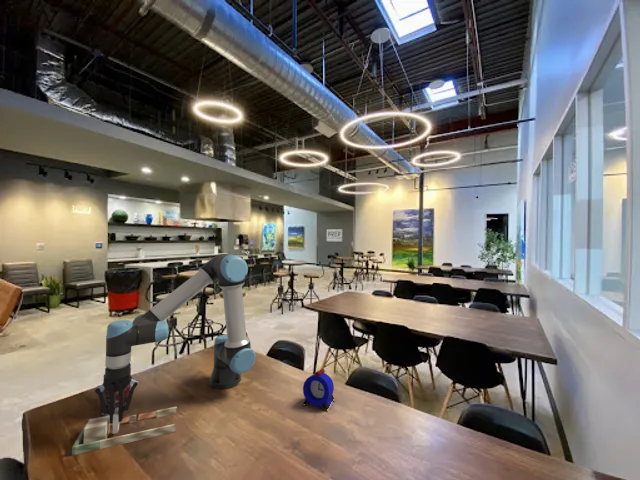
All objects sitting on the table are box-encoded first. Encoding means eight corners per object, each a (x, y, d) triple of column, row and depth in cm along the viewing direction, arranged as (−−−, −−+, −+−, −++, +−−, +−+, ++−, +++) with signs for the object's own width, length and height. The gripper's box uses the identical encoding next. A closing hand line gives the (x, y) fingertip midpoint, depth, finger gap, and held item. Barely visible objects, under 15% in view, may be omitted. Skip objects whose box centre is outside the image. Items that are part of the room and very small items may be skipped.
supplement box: (110, 417, 112) (111, 376, 112) (101, 414, 113) (102, 374, 114) (130, 405, 120) (131, 367, 121) (121, 403, 122) (123, 366, 122)
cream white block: (109, 432, 104) (110, 415, 104) (105, 442, 98) (105, 425, 98) (88, 436, 101) (89, 419, 101) (83, 447, 96) (84, 429, 96)
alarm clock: (301, 406, 123) (302, 371, 123) (312, 392, 134) (313, 361, 135) (327, 413, 118) (328, 376, 119) (336, 398, 130) (337, 365, 130)
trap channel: (176, 407, 120) (176, 401, 120) (175, 431, 104) (175, 425, 104) (88, 425, 107) (88, 418, 107) (71, 455, 92) (72, 447, 92)
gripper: (140, 358, 109) (138, 420, 108) (98, 363, 103) (96, 429, 103) (137, 366, 102) (135, 432, 101) (92, 372, 96) (90, 442, 96)
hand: (115, 430), depth 102 cm, fingers closed
